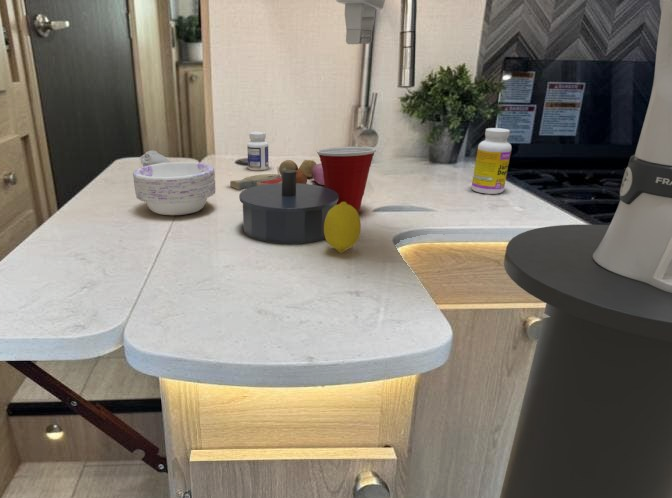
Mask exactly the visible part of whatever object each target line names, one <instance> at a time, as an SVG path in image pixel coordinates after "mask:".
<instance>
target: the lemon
mask: <svg viewBox="0 0 672 498" xmlns="http://www.w3.org/2000/svg"><path fill="white" fill-rule="evenodd" d="M361 224H362V223H361V218H360V214H359V212H357V211H356V209H355V208H353V207H352V206H351V205H348V204H347V203H346V202H341V203H340V204H338V205H335V206H334V207H332V208H331V209H330V210H329V211H328V213H327V216H326V218H325V222H324V235H325V241H326V242H327V244H328V245H329V246H330V247H331V248H333V249H335V250H336V251H337V252H338V253H340V254H342V253H344V252H345V251H346V250H349V249H351V248H352V247H354V245H355V244H357V242H358V240H359V238H360V236H361V227H362V226H361Z"/></svg>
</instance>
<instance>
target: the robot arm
mask: <svg viewBox="0 0 672 498" xmlns="http://www.w3.org/2000/svg"><path fill="white" fill-rule="evenodd" d="M335 1H336V2H337V3H339V4H342V5H344V21H345V22H344V23H345V29H346V32H345V42H346V44H347V45H369V44H371V43H372V38H373V29H374V25H375V20H376V12H377V11H376V10H382V9H383V8H384V6H385V2H386V0H335ZM659 9H660V20H659V21H660V22H659V27H658V28H659V29H658V34H657V35H658V36H657V43H656V55H655V65H654V76H653V81H652V82H653V83H652V88H651V93H650V98H649V102H648V106H647V109H646V113H645V117H644V120H643V124H642V128H641V131H640V135H639V138H638V142H637V145H636V148H635V153H634V154H632V155H631V156H630V158H629V161H628V164H627V167H626V168H625V170H624V174H623V177H622V181H621V185H620V187H619V202H618V205H617V207H616V210H615V212H614V215H613V218H612V219H611V221H610V223H609V225H610V226H609V228H608V230H607V232H606V234H605V236H604V238H603V239H602V241H601V243H600V244H599V246H598V248H597V249H596V250H595V252H594V253H593V259H594V260H595V262H596V263H598V264H599V265H600V266H602V267H604V268H605V269H607V270H609V271H612V272H614V273H616V274H619V275H622V276H625V277H628V278H631V279H634V280H638V281H641V282H644V283H647V284H650V285H652V286H654V287H656V288H659V289H661V290H663V291H666V292H669V293H672V0H659Z"/></svg>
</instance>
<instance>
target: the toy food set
mask: <svg viewBox="0 0 672 498" xmlns="http://www.w3.org/2000/svg"><path fill="white" fill-rule="evenodd" d="M283 170H295V171H296V183H301V184H308V183H307V182H308V178H309V179H310V178H312V180H314V181H315V182H316V183H317V185H319V186H325V184H324V176H323V169H322V165H321V163H317V162H316V161H315V160H311V159H304V160H303V161H302V162H301V164H300V165H299V166H298V164H297V163H296V162H295V161H293V160H292V159H285V160H284V161H282V162H281V163H280V164H279V166H278V172H279V174H277V173H266V174H265V173H263V174H255V175H251V176H246V177H244V178H242V179H240V180H230V182H229V185H230V187H231V188H233V189H234V190H235V189H236V190H238V191H240V190H242V189H248V188H251V187H255V186H259V185H265V184H276V183H282V171H283Z"/></svg>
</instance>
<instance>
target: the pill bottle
mask: <svg viewBox="0 0 672 498" xmlns="http://www.w3.org/2000/svg"><path fill="white" fill-rule="evenodd" d="M249 140H250V141H248V142H247V144H246V145H247V147H246V149H247V169H248V170H251V171H266V170H268V169H269V165H270V164H269V143H268V141H266V132H265V131H250V132H249Z"/></svg>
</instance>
